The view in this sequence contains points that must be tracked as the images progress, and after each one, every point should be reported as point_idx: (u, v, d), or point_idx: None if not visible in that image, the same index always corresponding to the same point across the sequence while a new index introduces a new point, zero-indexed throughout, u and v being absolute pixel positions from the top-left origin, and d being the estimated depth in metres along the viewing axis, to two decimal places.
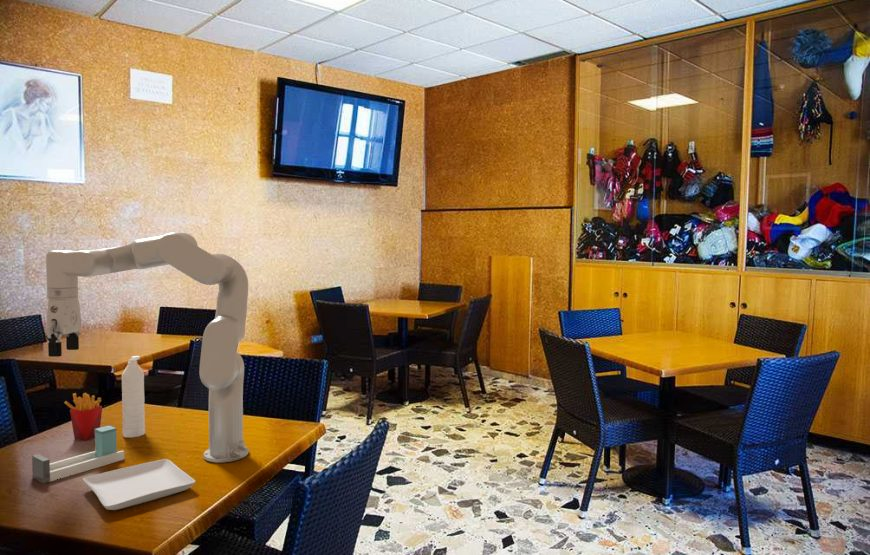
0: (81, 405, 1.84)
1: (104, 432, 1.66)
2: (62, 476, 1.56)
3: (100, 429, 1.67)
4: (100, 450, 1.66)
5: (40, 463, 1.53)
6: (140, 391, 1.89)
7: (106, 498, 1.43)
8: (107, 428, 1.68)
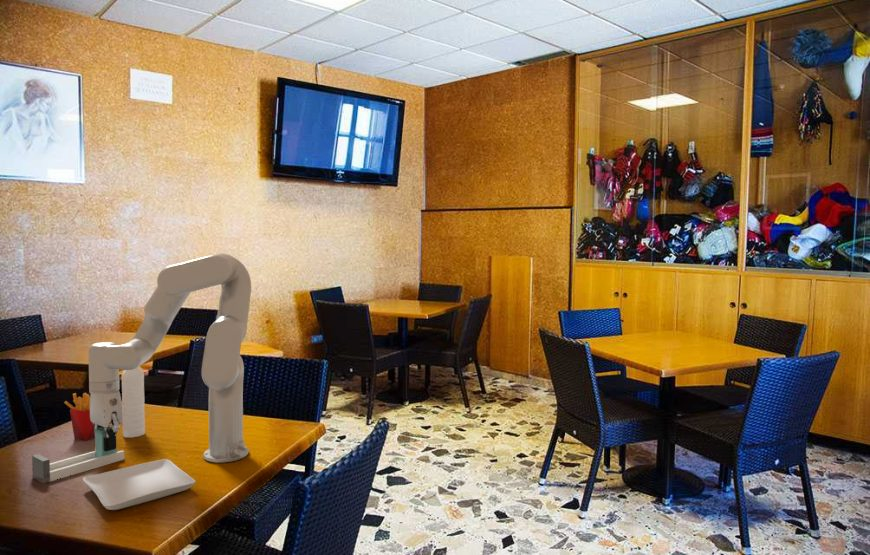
0: (81, 405, 1.84)
1: (104, 432, 1.66)
2: (62, 476, 1.56)
3: (100, 429, 1.67)
4: (100, 450, 1.66)
5: (40, 463, 1.53)
6: (140, 391, 1.89)
7: (106, 498, 1.43)
8: None
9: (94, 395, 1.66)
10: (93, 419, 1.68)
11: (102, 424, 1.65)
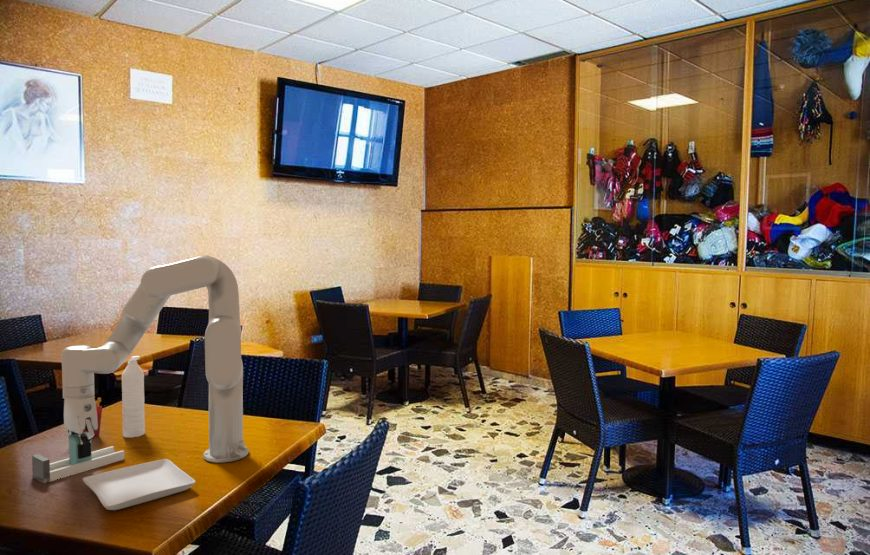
0: None
1: (78, 439, 1.60)
2: (62, 476, 1.56)
3: (74, 436, 1.62)
4: (74, 457, 1.61)
5: (40, 463, 1.53)
6: (140, 391, 1.89)
7: (106, 498, 1.43)
8: (82, 435, 1.63)
9: (67, 401, 1.60)
10: (67, 425, 1.62)
11: (76, 430, 1.59)
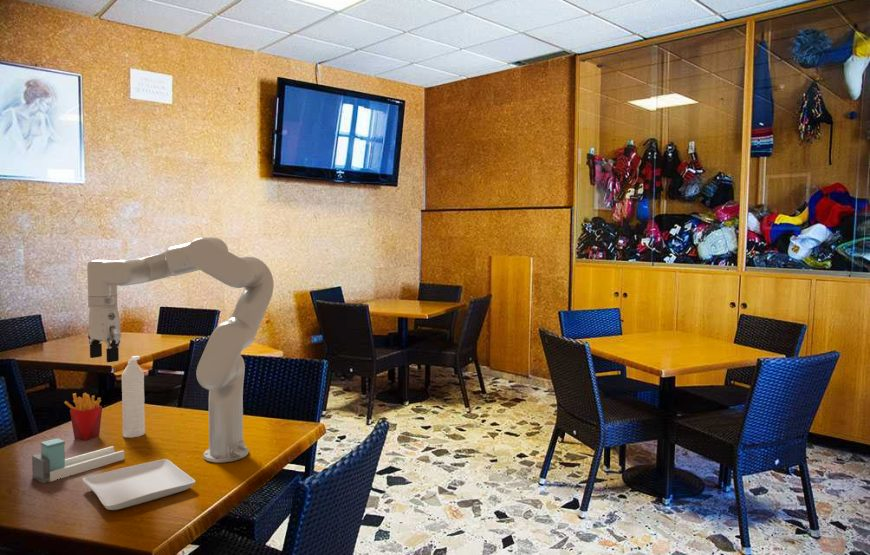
0: (81, 405, 1.84)
1: (50, 446, 1.55)
2: (62, 476, 1.56)
3: (47, 442, 1.56)
4: None
5: (40, 463, 1.53)
6: (140, 391, 1.89)
7: (106, 498, 1.43)
8: (55, 442, 1.57)
9: (92, 310, 1.70)
10: (92, 334, 1.72)
11: (100, 338, 1.69)
